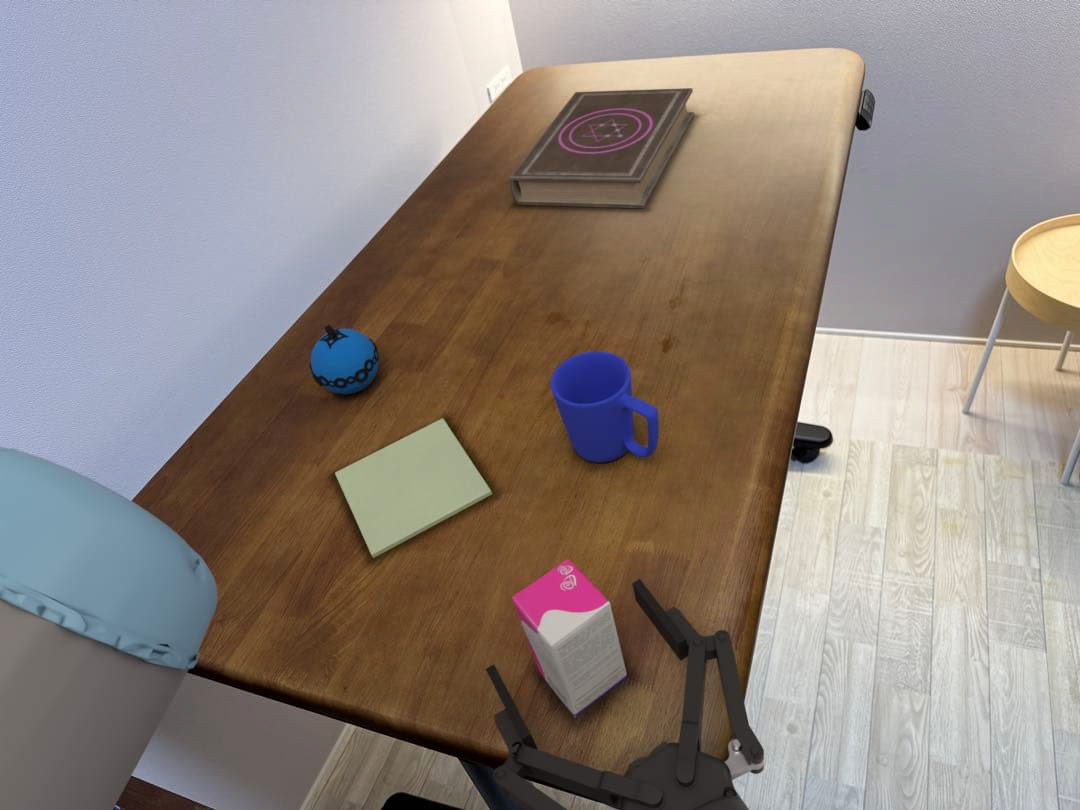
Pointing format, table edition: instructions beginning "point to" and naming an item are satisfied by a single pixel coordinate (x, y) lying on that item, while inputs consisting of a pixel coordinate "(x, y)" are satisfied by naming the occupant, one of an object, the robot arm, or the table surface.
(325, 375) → the ornament
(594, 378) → the mug
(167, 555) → the robot arm
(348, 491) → the pale green square tile
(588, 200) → the book
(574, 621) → the supplement box
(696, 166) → the table surface
